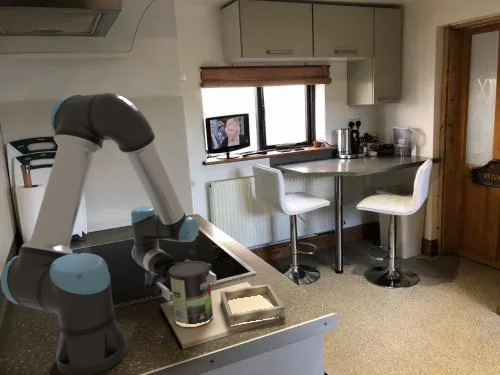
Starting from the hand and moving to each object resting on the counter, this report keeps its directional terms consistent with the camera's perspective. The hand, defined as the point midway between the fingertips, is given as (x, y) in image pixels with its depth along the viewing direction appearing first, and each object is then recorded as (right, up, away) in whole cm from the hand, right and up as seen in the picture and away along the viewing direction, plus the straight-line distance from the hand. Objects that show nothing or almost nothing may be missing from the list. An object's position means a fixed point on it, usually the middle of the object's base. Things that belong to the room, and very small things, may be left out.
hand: (192, 287), depth 110 cm
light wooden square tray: (+15, -7, +4) cm, 17 cm away
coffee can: (0, -8, +1) cm, 9 cm away
